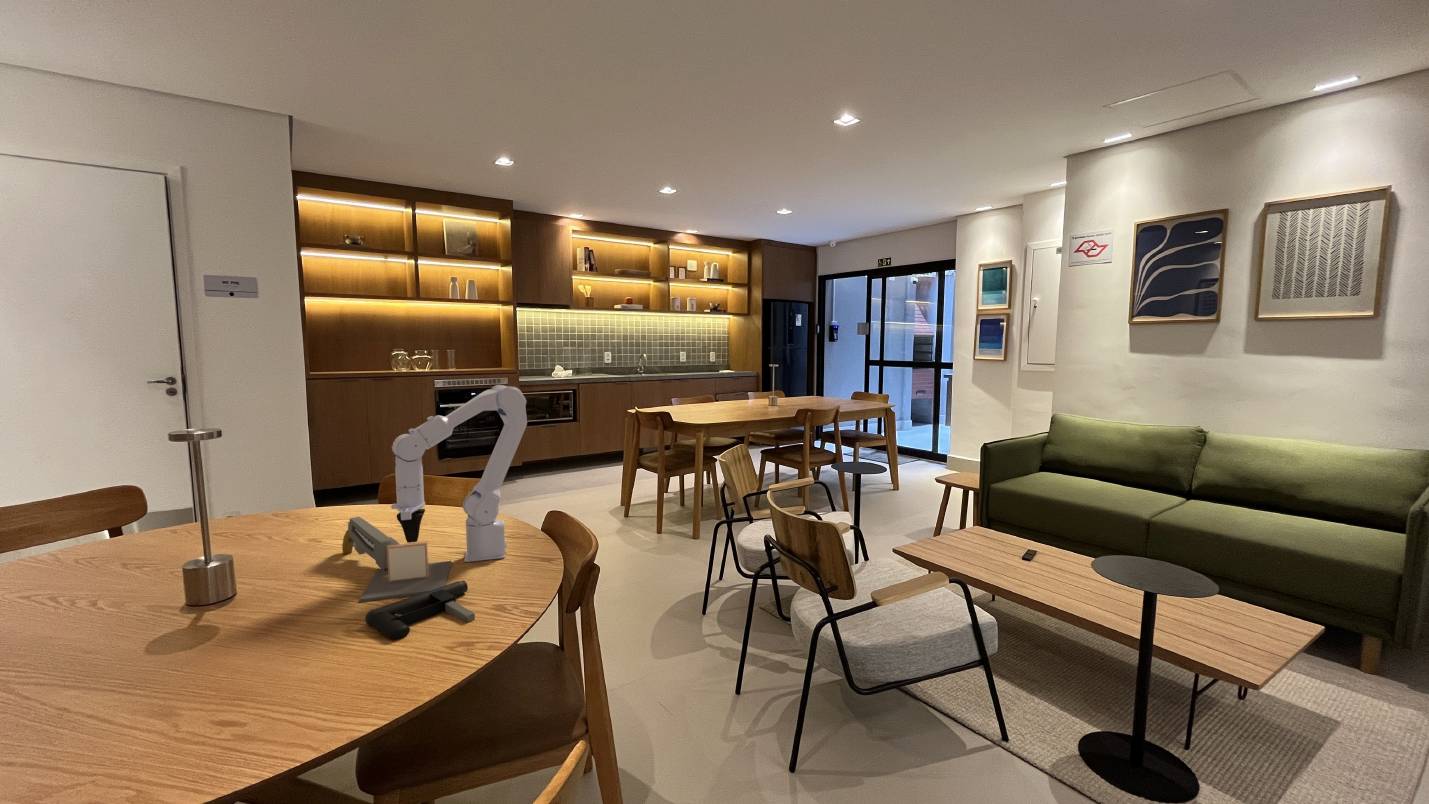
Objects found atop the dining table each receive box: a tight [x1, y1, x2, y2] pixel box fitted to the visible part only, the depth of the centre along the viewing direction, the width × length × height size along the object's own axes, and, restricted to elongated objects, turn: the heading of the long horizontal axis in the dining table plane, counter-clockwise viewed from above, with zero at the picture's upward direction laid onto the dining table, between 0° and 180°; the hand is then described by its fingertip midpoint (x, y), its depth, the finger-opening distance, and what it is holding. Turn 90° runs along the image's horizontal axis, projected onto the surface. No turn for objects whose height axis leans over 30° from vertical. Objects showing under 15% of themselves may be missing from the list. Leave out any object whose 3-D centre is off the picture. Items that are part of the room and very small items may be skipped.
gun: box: [341, 516, 401, 570], centre depth 144 cm, size 3×25×15 cm, turn 56°
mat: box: [358, 560, 452, 603], centre depth 133 cm, size 16×18×1 cm
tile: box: [387, 540, 429, 582], centre depth 132 cm, size 8×2×8 cm, turn 109°
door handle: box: [364, 580, 476, 641], centre depth 115 cm, size 3×20×16 cm
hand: (412, 541), depth 139 cm, fingers closed
